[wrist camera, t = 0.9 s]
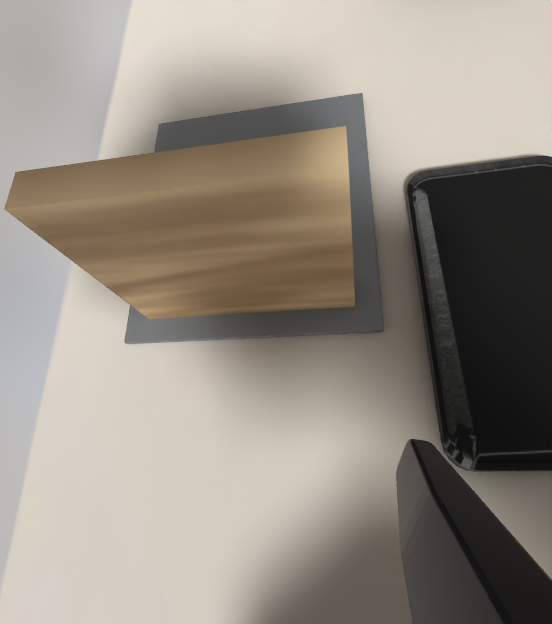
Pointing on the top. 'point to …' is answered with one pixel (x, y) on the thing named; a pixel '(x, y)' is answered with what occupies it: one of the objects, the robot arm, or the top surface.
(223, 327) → the charcoal mat
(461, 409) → the phone
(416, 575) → the robot arm
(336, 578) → the top surface
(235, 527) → the top surface
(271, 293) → the oak block
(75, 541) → the top surface
